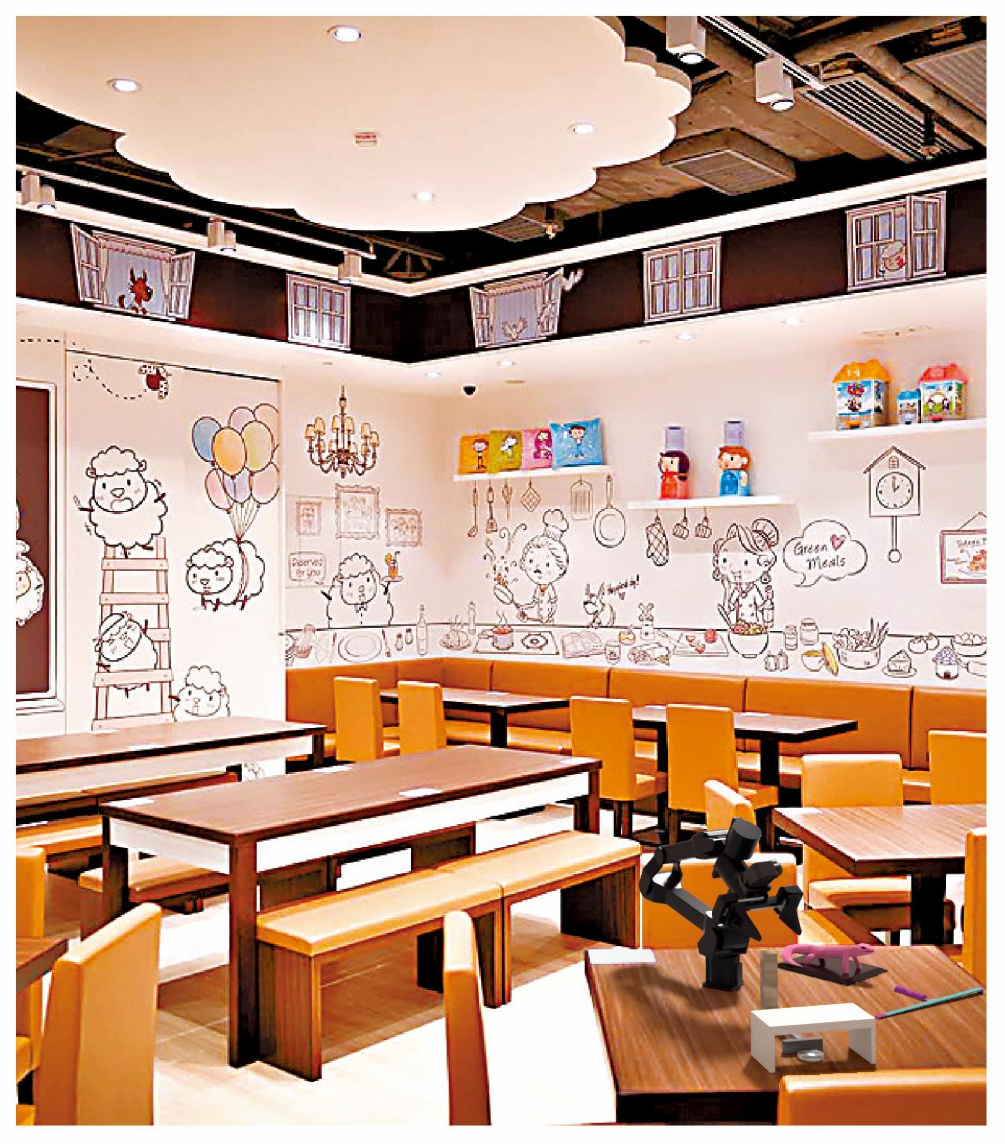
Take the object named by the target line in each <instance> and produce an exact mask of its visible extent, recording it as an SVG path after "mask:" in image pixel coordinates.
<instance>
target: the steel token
mask: <svg viewBox="0 0 1005 1144" xmlns="http://www.w3.org/2000/svg"><path fill="white" fill-rule="evenodd" d="M796 1057H797V1059H798V1060H800V1061H801V1062H806V1063H820V1062H822V1061H824V1060H825V1054H824V1052H823V1051H819V1050H815V1049H801V1050H798V1051H797V1053H796Z"/></svg>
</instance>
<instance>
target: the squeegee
mask: <svg viewBox="0 0 1005 1144" xmlns="http://www.w3.org/2000/svg"><path fill="white" fill-rule="evenodd" d="M893 991H894V992H895V991H897V992H896V993H898V992H899V994H901V993H902V995H905V996H908V995H909V997H910V996H911V997H910V998H913V999H915V998H918V999H919V1001H921V1000H922V1001H924V1002H921V1003H916V1004H913V1005H909V1006H905V1007H902V1008H899V1009H895V1010H892V1011H891V1010H890V1011H887V1012H884V1013H879V1014H877V1015H874V1018H875V1017H876V1018H875V1019H877V1018H878V1019H877V1020H880V1019H882V1018H881V1017H883V1018H887V1017H889V1016H892V1015H897V1014H901V1013H905V1012H908V1011H907V1010H909V1011H912V1010H911V1009H913V1010H916V1008H917V1009H921V1008H924V1007H923V1006H925V1007H928V1006H932V1004H933V1005H936V1004H935V1003H937V1004H939V1003H938V1002H941V1003H944V1002H943V1001H945V1002H947V1001H946V1000H949V1001H951V1000H950V999H953V998H958V999H960V998H959V997H961V996H964V995H968V994H972V993H974V992H982V993H981V994H984V988H982V987H979V986H978V987H975V988H971V989H967V990H965V991H961V992H960V991H959V992H957V993H954V994H950V995H946V996H942V997H939V998H931V999H929V998H928V996H927V995H926V994H924V993H920V992H916V991H914V990H910V989H907V988H905V987H904V986H901V985H895V987H894V990H893ZM918 999H917V1000H918ZM923 999H925V1000H926V1001H925V1000H923ZM920 1007H921V1008H920ZM904 1011H905V1012H904ZM896 1013H897V1014H896Z"/></svg>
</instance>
